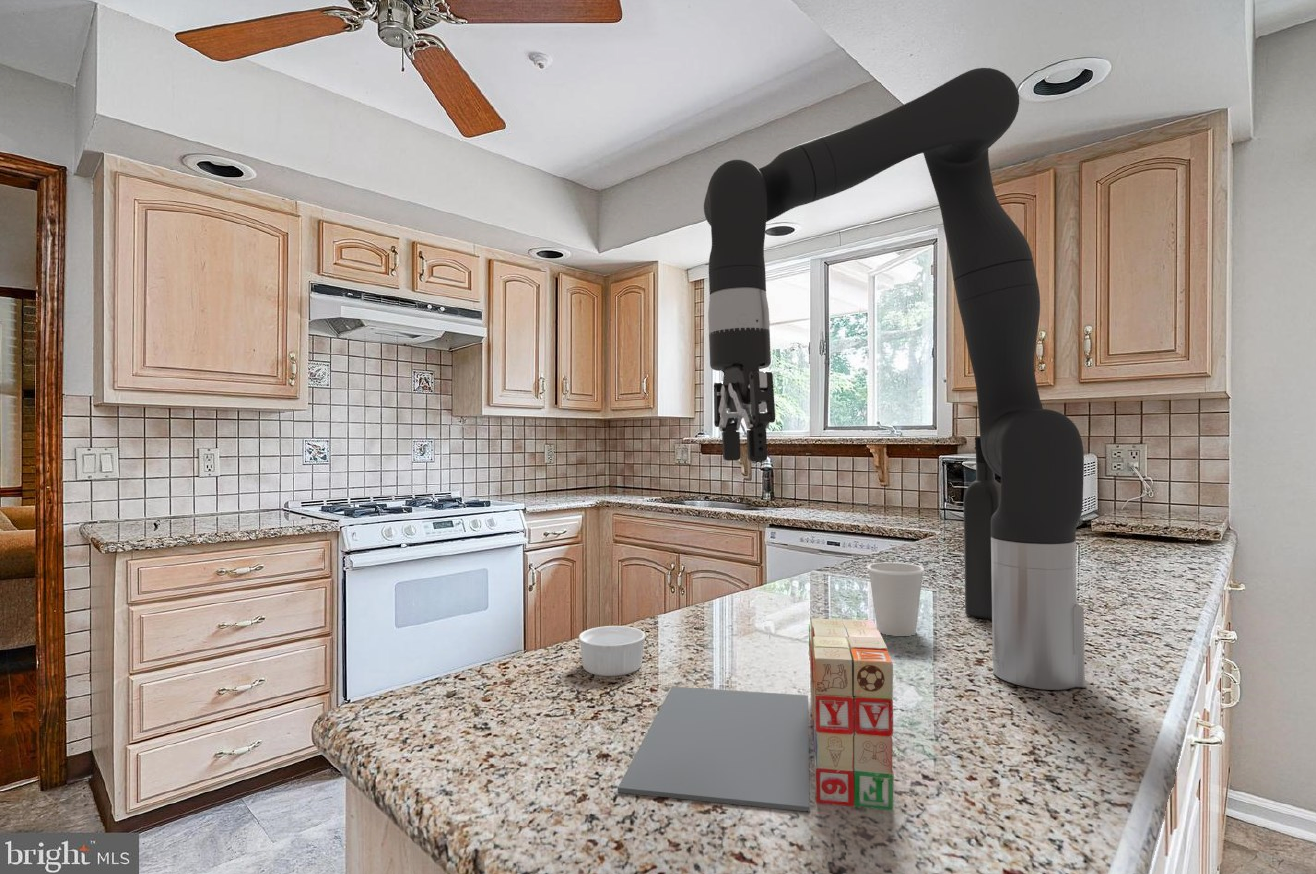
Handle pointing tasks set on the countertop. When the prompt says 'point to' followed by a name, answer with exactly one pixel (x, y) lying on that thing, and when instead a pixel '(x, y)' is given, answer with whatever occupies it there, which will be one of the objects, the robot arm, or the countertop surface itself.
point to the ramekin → (612, 650)
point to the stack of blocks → (851, 713)
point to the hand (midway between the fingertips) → (744, 460)
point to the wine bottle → (979, 537)
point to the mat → (726, 749)
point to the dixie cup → (896, 596)
